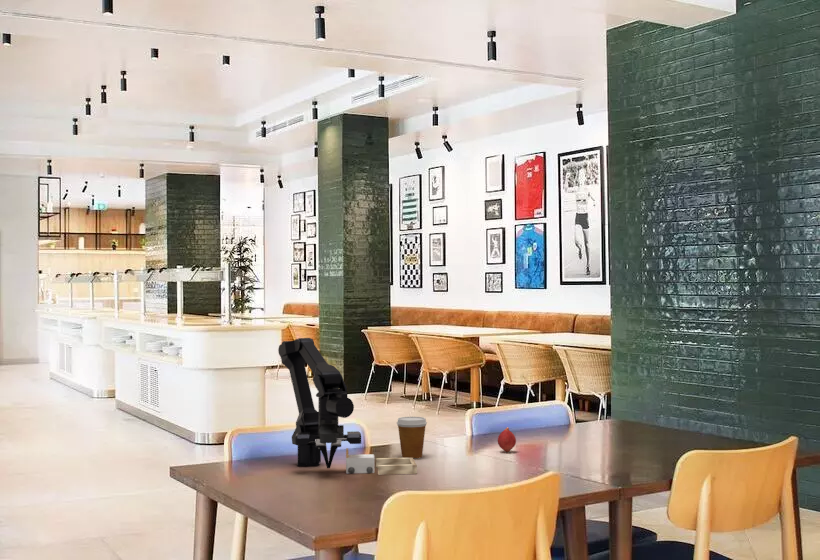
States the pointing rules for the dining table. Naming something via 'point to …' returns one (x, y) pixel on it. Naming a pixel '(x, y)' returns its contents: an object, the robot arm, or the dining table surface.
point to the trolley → (359, 463)
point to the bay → (396, 466)
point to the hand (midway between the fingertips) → (328, 468)
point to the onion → (506, 440)
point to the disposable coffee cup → (411, 436)
